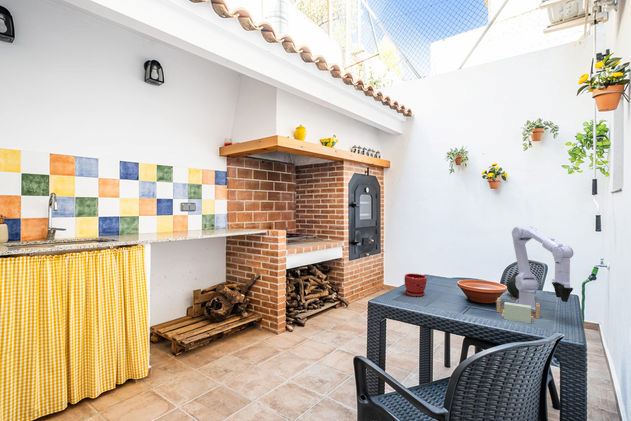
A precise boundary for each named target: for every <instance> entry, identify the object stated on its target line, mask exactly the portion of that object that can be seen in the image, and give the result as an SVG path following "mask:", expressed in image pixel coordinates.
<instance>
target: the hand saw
mask: <svg viewBox="0 0 631 421" xmlns="http://www.w3.org/2000/svg"><path fill="white" fill-rule="evenodd" d="M510 300H513V301H517V300H518V297H515V296H510Z"/></svg>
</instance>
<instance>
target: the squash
mask: <svg viewBox="0 0 631 421" xmlns="http://www.w3.org/2000/svg"><path fill="white" fill-rule="evenodd" d="M518 274H519V272H515V273H513V274H512V276H511V277H510V278H509V279H508V280H507V282H506V290H507V292H508V293H509V294H510V295H511V296H512V297H514V298H519V290H518V289H517V287H516V284H515V283H516V278H515V277H516V276H517V275H518ZM524 279H528V278H524ZM536 292H537V291H536ZM536 292H535V294H536Z"/></svg>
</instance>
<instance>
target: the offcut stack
mask: <svg viewBox="0 0 631 421" xmlns="http://www.w3.org/2000/svg"><path fill="white" fill-rule="evenodd" d="M501 316H502V317H504V310H503V313H501ZM534 319H535V318H533V316H531V322H533V321H534Z"/></svg>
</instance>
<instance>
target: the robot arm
mask: <svg viewBox="0 0 631 421" xmlns="http://www.w3.org/2000/svg"><path fill="white" fill-rule="evenodd" d="M511 236H512V243H513V249H514V252H515V258H516V263H517V268H518V273H519V274H518V275H517V276H516V277H515V278H516V283H515V284H516V287H517V289H518V290H519V297H518V302H517V304H522V305H529V306H531V311H536V302H535V299H536V298H535V295H536V293H535V292H537V290H538V289H539V287H540V285H539V281H538V280H537V278H536V277H537V276H536V275H535V274H533V273H532V272H531V266H530V262H529V257H528V253H527V248H526V243H527V242H529V241H530V240H532V239H533V240H535V241H537V242H539V243H540V244H541V246H542V247H543V248H544V249H545V250H547V251H548V252H550V253H552V254H551V255H552V256H553V260H554V278H553V279H551V285H552V286H553V289H554V292H555V296H556V298H560V299H561V302H564V303H565V302H566V303H568V302H569V299H570V295H571V294H572V292H573V290H574V288H573V287H571V281H570V278H571V276H570V275H571V267H570V266H571V258H572V257H574V250H573V248H572V247H570V246H569V245H564V244H563V243H560V242H558V241H556V238H554V237H546V236H544V235H543V234H542V233H540V232H539V231H537V229H536V228H535V227H533V226H514V227H513V229H512V230H511ZM524 278H528V279H524Z"/></svg>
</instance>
